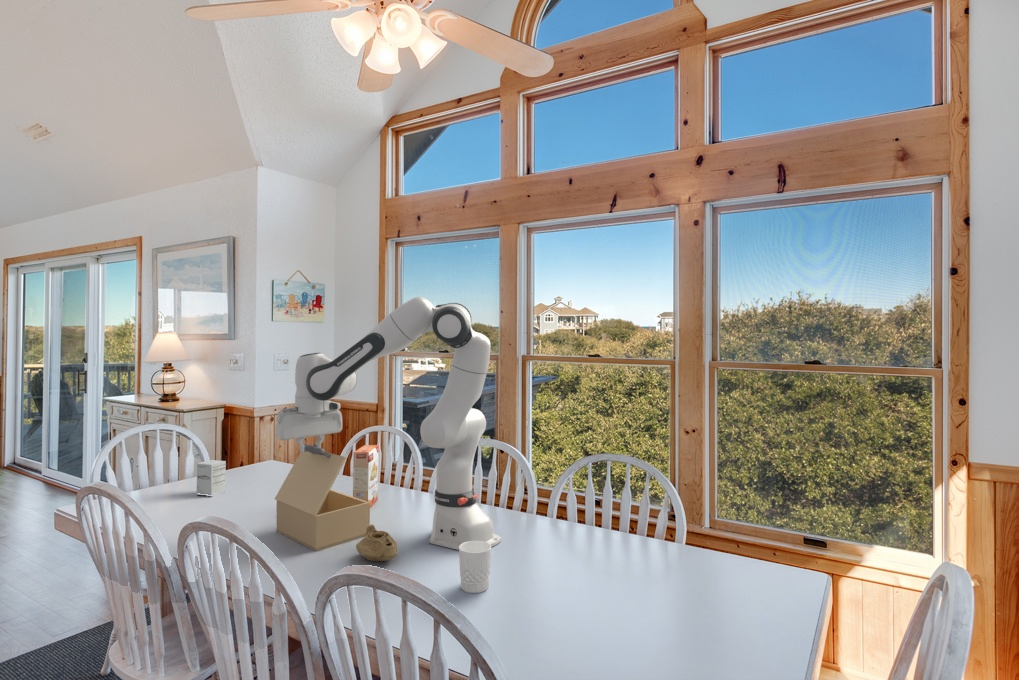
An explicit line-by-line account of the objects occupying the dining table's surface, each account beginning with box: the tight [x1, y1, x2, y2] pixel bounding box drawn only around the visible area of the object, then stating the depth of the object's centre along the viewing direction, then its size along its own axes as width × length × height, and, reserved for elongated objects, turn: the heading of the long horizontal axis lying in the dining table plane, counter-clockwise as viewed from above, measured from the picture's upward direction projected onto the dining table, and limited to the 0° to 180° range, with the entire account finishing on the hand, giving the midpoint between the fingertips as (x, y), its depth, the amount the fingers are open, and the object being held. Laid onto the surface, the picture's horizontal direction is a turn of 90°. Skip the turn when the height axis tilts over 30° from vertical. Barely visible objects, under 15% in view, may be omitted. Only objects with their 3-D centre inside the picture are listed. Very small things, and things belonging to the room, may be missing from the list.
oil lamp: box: [355, 523, 398, 562], centre depth 153 cm, size 11×15×8 cm
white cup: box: [458, 541, 492, 594], centre depth 136 cm, size 8×8×10 cm
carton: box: [275, 488, 371, 552], centre depth 173 cm, size 24×18×10 cm
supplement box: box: [196, 459, 227, 495], centre depth 216 cm, size 7×7×13 cm
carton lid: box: [274, 443, 347, 516], centre depth 168 cm, size 24×18×6 cm
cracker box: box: [352, 444, 380, 508], centre depth 202 cm, size 14×6×21 cm, turn 179°
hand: (310, 450), depth 170 cm, fingers open, 3 cm apart
